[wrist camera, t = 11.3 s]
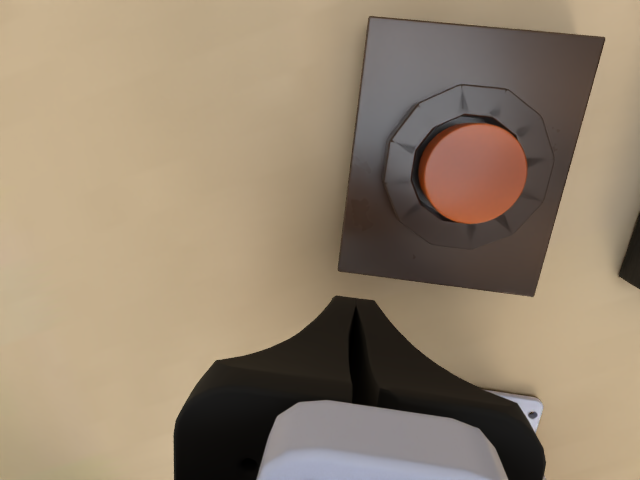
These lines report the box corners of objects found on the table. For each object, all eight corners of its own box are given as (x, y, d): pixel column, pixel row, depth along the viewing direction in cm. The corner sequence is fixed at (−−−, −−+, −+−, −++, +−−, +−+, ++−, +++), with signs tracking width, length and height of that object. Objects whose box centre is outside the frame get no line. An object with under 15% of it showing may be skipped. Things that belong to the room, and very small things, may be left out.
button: (500, 220, 18) (514, 229, 17) (411, 209, 19) (415, 218, 17) (522, 128, 17) (539, 128, 16) (426, 118, 17) (433, 117, 16)
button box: (518, 281, 23) (550, 313, 19) (339, 258, 23) (335, 285, 20) (580, 45, 19) (633, 27, 15) (368, 26, 20) (369, 4, 16)
